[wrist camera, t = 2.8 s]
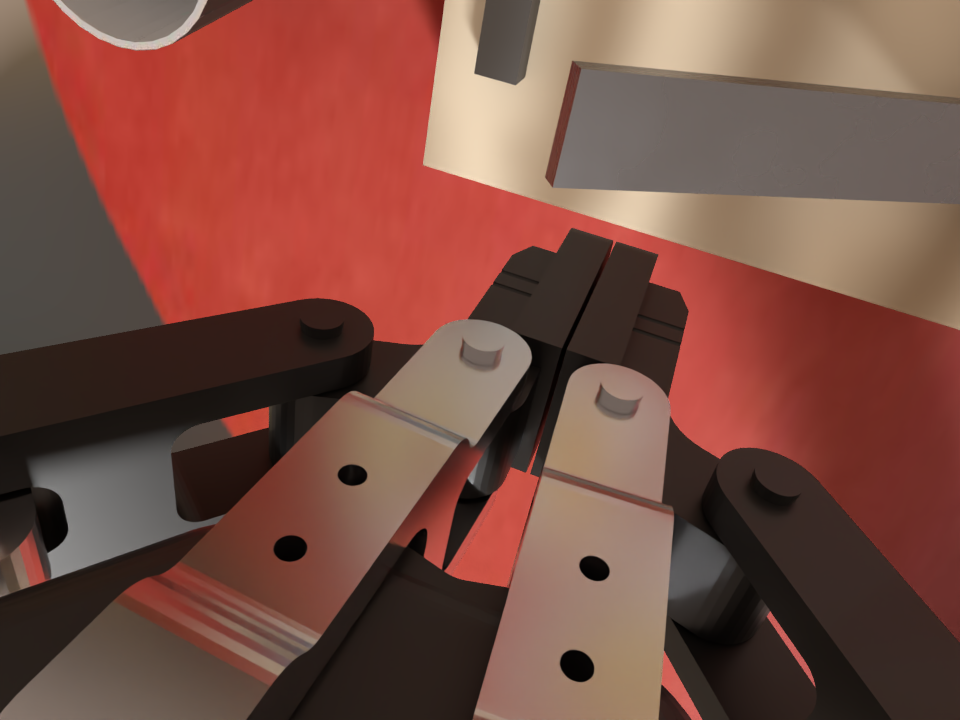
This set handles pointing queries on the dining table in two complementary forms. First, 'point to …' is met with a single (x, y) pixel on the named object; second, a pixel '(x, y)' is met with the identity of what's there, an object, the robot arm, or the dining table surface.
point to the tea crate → (723, 51)
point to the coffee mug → (145, 19)
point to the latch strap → (752, 137)
